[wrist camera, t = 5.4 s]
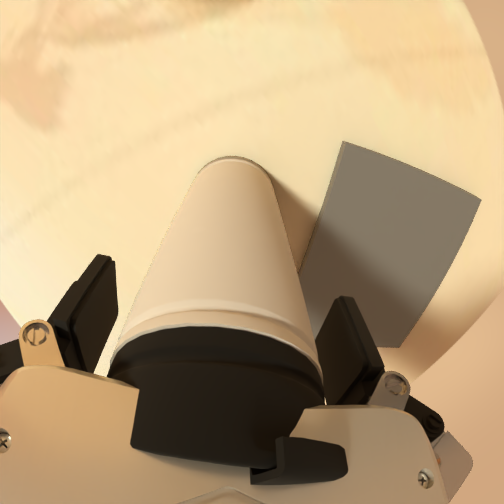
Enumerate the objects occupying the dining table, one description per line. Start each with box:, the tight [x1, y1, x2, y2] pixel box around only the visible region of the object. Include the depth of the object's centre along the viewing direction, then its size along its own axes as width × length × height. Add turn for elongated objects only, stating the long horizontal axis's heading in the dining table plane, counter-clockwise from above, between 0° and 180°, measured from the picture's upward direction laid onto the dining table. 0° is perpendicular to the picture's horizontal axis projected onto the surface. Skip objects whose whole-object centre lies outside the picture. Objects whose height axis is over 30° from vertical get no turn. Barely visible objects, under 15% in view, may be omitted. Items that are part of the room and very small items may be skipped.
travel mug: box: [107, 156, 348, 485], centre depth 13 cm, size 6×7×20 cm
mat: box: [298, 141, 481, 348], centre depth 25 cm, size 20×16×1 cm
